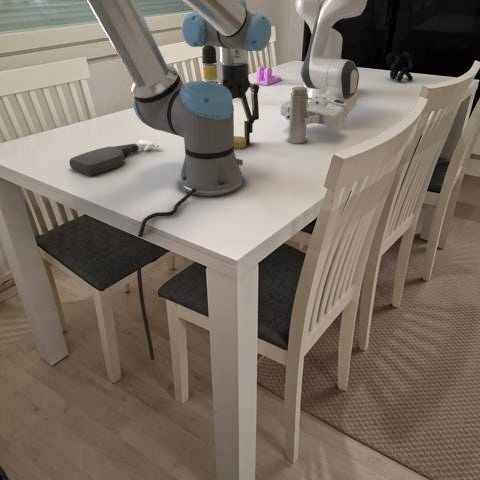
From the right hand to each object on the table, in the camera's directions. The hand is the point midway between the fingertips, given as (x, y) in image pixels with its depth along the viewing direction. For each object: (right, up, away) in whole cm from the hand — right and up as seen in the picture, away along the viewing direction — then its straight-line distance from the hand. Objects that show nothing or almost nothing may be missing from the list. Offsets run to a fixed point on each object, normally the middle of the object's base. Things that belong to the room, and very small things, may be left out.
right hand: (296, 119), depth 131 cm
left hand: (-17, -7, +2) cm, 19 cm away
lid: (-18, -6, +1) cm, 19 cm away
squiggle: (+55, +36, +69) cm, 96 cm away
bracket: (-3, +36, +71) cm, 79 cm away
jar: (+1, -5, +4) cm, 7 cm away
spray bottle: (-51, -13, -7) cm, 53 cm away
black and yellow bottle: (-28, +21, +47) cm, 59 cm away
